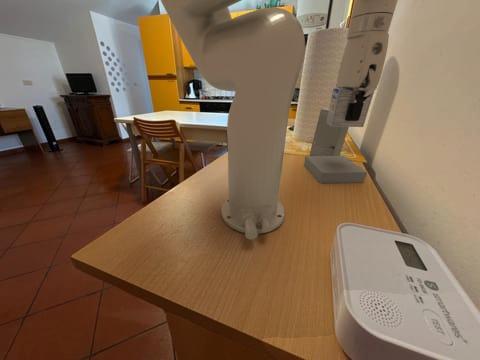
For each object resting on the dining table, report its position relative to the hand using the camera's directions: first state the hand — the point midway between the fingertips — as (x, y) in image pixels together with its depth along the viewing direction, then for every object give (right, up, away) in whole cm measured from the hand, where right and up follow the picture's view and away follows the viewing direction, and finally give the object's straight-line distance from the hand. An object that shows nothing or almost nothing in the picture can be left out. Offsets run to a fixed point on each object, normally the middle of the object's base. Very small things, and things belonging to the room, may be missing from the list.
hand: (345, 117), depth 49 cm
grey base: (0, -14, +7) cm, 16 cm away
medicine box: (0, -2, +1) cm, 2 cm away
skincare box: (+3, -8, +19) cm, 21 cm away
